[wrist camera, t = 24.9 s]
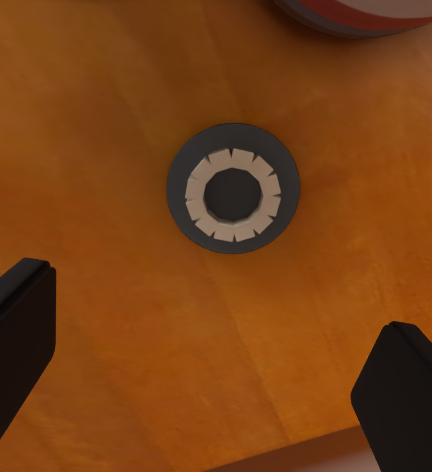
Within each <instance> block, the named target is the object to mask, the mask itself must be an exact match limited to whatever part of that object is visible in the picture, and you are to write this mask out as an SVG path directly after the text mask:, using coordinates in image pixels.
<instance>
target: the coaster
mask: <svg viewBox="0 0 432 472" xmlns="http://www.w3.org/2000/svg"><path fill="white" fill-rule="evenodd" d="M226 147H228V148H229V151H230V154H231V153H232V148H233V147H238V148H242V149H247V150H252V151H253V152H254V156H255V155H256V153H258V154H259V155H260V156H261V157H262V158H263V159H264V160H265V161H266V162H267V163H268V164H269V165H270V166H271V167H272V168H273V171H274V172H275V173H276V175H277V179H278V183H279V186H280V190H281V193H280V194H279V196H280V197H281V200H280V204H279V207H278V210H277V214H276V216H271V217H272V219H273V221H272V222H271V223H270V224H269V225H268V226H267V227H266V228H265V229H264V230H263V231H262V232H261V233H260V234H258V233H257V232H256V231H255V230H254V233H255V237H252V238H249V239H245V240H242V241H238V242H237V241H236V238H235V235H234V238H233V241H232V242H229V241H224V240H219V239H214V233H213V234H212V235H211V236H208V235H207V234H206V233H204V232H203V231H202V230H201V229H200V228H198V227H197V226H196V225H195V222H196V220H192V219H191V216H190V214H189V211H188V208H187V206H186V201H187V198H185V195H186V189H187V183H188V179H189V176H190V175H191V172H192V170H193V169H194V168H195V167H196V166H197V164H198V163H199V162H200V161H201V160H202V159H203V157H207V158H208V159H209V153H211V152H214V151H217V150H220V149H223V148H226ZM209 160H210V159H209ZM166 190H167V200H168V206H169V209H170V212H171V214H172V216H173V219H174V221H175V222H176V224H177V225H178V227H179V228H180V229H181V231H182V232H183V233H184V234H185V235H186V236H187V237H188V238H189V239H190V240H192V241H193V242H195V243H196V244H198V245H200V246H201V247H203V248H206V249H208V250H211V251H214V252H218V253H225V254H240V253H246V252H250V251H254V250H256V249H259V248H261V247H263V246H265V245H267V244H268V243H270V242H271V241H273V240H274V239H275V238H277V237H278V236H279V235H280V234H281V233H282V232H283V231H284V230H285V228H286V227H287V226H288V224H289V223H290V221H291V219H292V218H293V216H294V213H295V211H296V208H297V205H298V201H299V194H300V180H299V174H298V170H297V167H296V164H295V162H294V160H293V158H292V156H291V154H290V153H289V151H288V150H287V148H286V147H285V146H284V145H283V144H282V143H281V142H280V141H279V140H278V139H277V138H275V137H274V136H273V135H271V134H270V133H268V132H267V131H265V130H262V129H260V128H258V127H255V126H252V125H248V124H241V123H227V124H220V125H217V126H213V127H210V128H208V129H206V130H203V131H202V132H200V133H198V134H197V135H195V136H194V137H193V138H191V139H190V140H189V141H188V142H187V143H186V144H185V145H184V146H183V147H182V148H181V150H180V151H179V152H178V154H177V155H176V157H175V159H174V161H173V162H172V165H171V168H170V170H169V174H168V179H167V188H166ZM260 196H261V189H260V186H259V182H258V180H257V179H256V178H255V177H254V176H253V175H251V174H250V173H249V172H248V171H246V170H241V169H237V168H229V169H226V170H223V171H219V172H216V173H215V175H214V176H213V177H212V178H211V179H210V180H209V181H208V182H207V183H206V186H205V191H204V198H205V201H206V204H207V207H208V209H209V210H210V211H211V212H213V213H214V214H215V215H216V216H217V217H218V218H220V219H225V220H230V221H236V220H239V219H242V218H246V217H248V216H249V215H250V214H251V213H252V212H253V211H254V210H255V209H256V208H257V207H258V203H259V200H260Z"/></svg>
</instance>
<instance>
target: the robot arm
mask: <svg viewBox="0 0 432 472" xmlns="http://www.w3.org/2000/svg"><path fill="white" fill-rule="evenodd" d="M55 345H56V269H55V268H53V267H50V263H49V262H48V261H44V260H38V259H32V258H23V259H22V260H20V261H19V262H18V263H17V264H16V265H14V266H13V267H12V268H11V269H9V270H8V271H7V272H6V273H5V274H3V275H2V276H1V277H0V439H1V437H2V436H3V434H4V433H5V431H6V430H7V428H8V426H9V425H10V423H11V422H12V420H13V419H14V417H15V415H16V414H17V412H18V411H19V409H20V408H21V406H22V404H23V403H24V401H25V400H26V398H27V397H28V395H29V393H30V392H31V390H32V389H33V387H34V386H35V384H36V382H37V381H38V379H39V378H40V376H41V375H42V373H43V371H44V370H45V368H46V367H47V365H48V363H49V362H50V360H51V359H52V356H53V354H54V351H55ZM351 403H352V406H353V409H354V411H355V413H356V415H357V418H358V420H359V422H360V424H361V426H362V429H363V431H364V433H365V436H366V438H367V440H368V443H369V445H370V447H371V449H372V452H373V454H374V456H375V459H376V461H377V463H378V465H379V467H380V470H381V472H432V343H431V342H430V341H429V339H428V338H427V337H426V336H425V335H424V334H423V333H422V331H421V330H420V329H419V328H418V327H417V326H416V325H413V324H409V323H403V322H397V321H392V322H391V323H389V325H385V326H384V327H383V328H382V330H381V332H380V334H379V336H378V338H377V340H376V342H375V345H374V347H373V349H372V351H371V353H370V355H369V357H368V359H367V361H366V363H365V365H364V367H363V369H362V371H361V373H360V375H359V377H358V379H357V381H356V383H355V385H354V387H353V389H352V392H351Z"/></svg>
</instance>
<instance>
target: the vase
mask: <svg viewBox="0 0 432 472" xmlns="http://www.w3.org/2000/svg"><path fill="white" fill-rule="evenodd" d="M273 1H274V2H275V3H276V4H277V5H278V6H279V7H280V8H281V9H282V10H283V11H284V12H286V13H287V14H288V15H289V16H291V17H292V18H294V19H295V20H296V21H298V22H300V23H302V24H303V25H305V26H307V27H309V28H312V29H314V30H316V31H319V32H322V33H325V34H328V35H332V36H336V37H343V38H356V39H360V38H374V37H382V36H388V35H392V34H397V33H400V32H404V31H407V30H410V29H413V28H416V27H420V26H422V25H425V24H428V23H430V22H432V0H273Z"/></svg>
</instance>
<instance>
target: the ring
mask: <svg viewBox="0 0 432 472" xmlns="http://www.w3.org/2000/svg"><path fill="white" fill-rule="evenodd" d="M209 159H210V160H209ZM209 159H208V158H207V157H203V159H202V160H201V161H200V162H199V163H198V164H197V166H196V167H195V168H194V169H193V170H192V172H191V175H190V176H189V179H188V183H187V189H186V195H185V198H187V201H186V206H187V208H188V211H189V214H190V216H191V219H192V220H196V222H195V225H196V226H197V227H198V228H200V229H201V230H202V231H203V232H204V233H206V234H207V235H208V236H211V235H212V234H213V233H214V239H219V240H224V241H229V242H232V241H233V238H234V235H235V238H236V241H237V242H238V241H242V240H245V239H249V238H252V237H255V233H254V230H255V231H256V232H257V233H258V234H260V233H261V232H262V231H263V230H264V229H265V228H266V227H267V226H268V225H269V224H270V223H271V222H272V221H273V219H272V217H271V216H276V214H277V210H278V207H279V204H280V200H281V197H280V196H279V194H280V193H281V190H280V186H279V183H278V179H277V175H276V173H275V172H274V171H273V168H272V167H271V166H270V165H269V164H268V163H267V162H266V161H265V160H264V159H263V158H262V157H261V156H260V155H259V154H258V153H256V155H255V156H254V152H253V151H252V150H247V149H242V148H238V147H233V148H232V153H231V154H230V151H229V148H228V147H226V148H223V149H220V150H217V151H214V152H211V153H209ZM229 168H237V169H241V170H246V171H248V172H249V173H250V174H251V175H253V176H254V177H255V178H256V179H257V180H258V182H259V186H260V189H261V196H260V200H259V203H258V207H257V208H256V209H255V210H254V211H253V212H252V213H251V214H250V215H249V216H248V217H246V218H242V219H239V220H236V221H230V220H225V219H220V218H218V217H217V216H216V215H215V214H214V213H213V212H211V211H210V210H209V209H208V207H207V204H206V201H205V198H204V191H205V186H206V183H207V182H208V181H209V180H210V179H211V178H212V177H213V176H214V175H215V173H216V172H219V171H223V170H226V169H229Z"/></svg>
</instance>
